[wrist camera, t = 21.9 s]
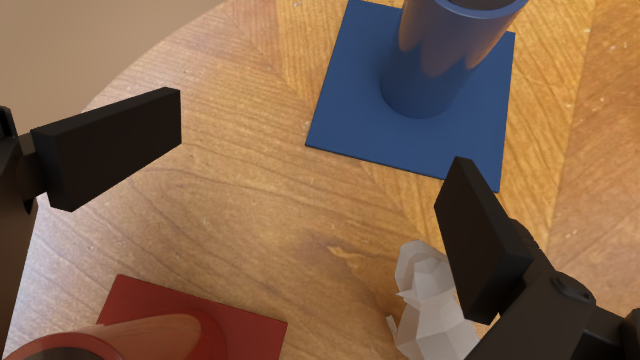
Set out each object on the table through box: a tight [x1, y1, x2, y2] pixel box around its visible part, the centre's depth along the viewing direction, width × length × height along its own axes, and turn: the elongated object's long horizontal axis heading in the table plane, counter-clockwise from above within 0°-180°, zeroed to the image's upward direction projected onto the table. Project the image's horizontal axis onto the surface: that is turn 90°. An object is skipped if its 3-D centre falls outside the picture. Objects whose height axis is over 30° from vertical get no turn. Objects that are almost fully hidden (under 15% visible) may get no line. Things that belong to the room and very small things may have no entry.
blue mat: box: [305, 0, 515, 193], centre depth 28 cm, size 16×16×1 cm
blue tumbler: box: [380, 0, 529, 119], centre depth 23 cm, size 7×7×11 cm
